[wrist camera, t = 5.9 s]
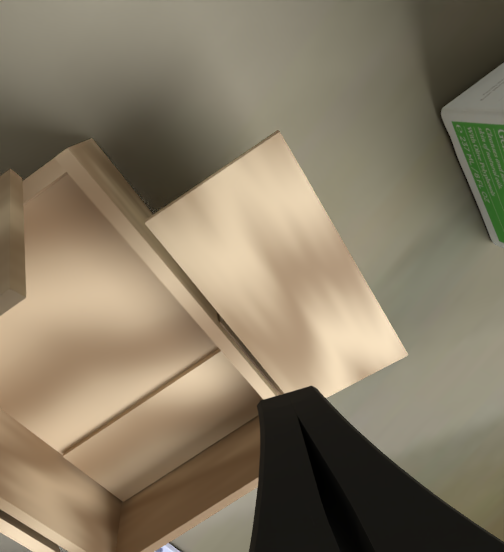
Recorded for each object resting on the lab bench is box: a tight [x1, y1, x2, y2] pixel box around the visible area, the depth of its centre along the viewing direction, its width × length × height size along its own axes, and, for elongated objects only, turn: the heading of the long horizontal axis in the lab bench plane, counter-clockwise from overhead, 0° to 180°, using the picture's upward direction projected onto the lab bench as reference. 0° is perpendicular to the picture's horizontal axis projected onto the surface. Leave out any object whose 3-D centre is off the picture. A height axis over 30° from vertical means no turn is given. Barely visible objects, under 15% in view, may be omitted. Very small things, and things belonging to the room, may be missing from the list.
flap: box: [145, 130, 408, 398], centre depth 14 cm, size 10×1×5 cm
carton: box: [0, 138, 284, 552], centre depth 17 cm, size 16×16×4 cm
